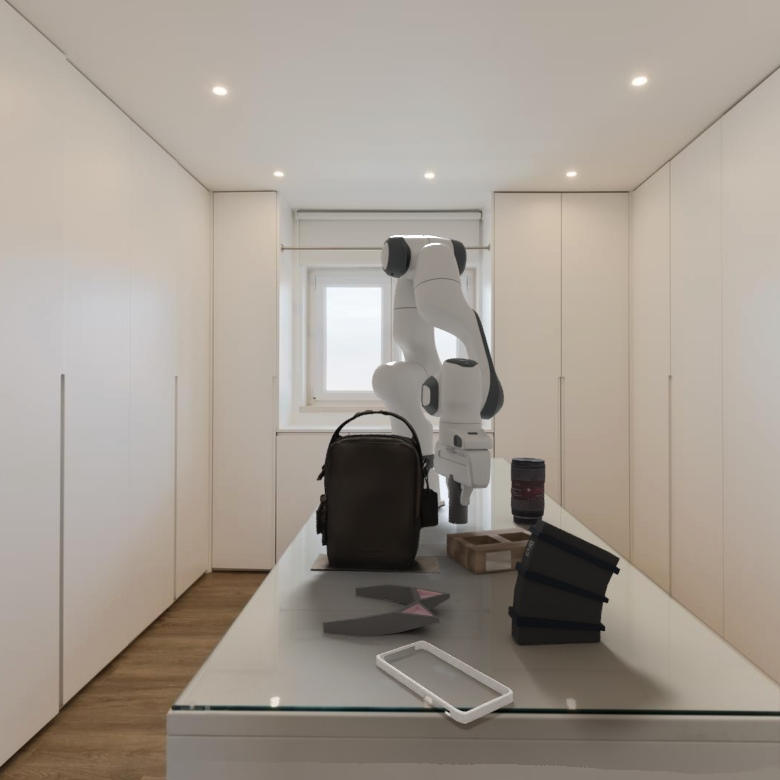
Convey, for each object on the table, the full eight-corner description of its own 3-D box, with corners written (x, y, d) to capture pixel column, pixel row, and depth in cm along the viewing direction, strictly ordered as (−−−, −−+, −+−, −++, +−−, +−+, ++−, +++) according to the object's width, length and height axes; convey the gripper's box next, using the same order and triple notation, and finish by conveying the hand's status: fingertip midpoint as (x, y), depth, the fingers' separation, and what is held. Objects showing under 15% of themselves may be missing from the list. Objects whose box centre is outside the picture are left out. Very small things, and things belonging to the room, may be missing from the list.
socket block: (446, 555, 109) (446, 534, 109) (519, 547, 114) (519, 527, 114) (476, 575, 97) (477, 551, 97) (556, 565, 102) (556, 543, 102)
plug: (445, 520, 120) (446, 472, 120) (462, 518, 122) (463, 472, 121) (453, 524, 117) (454, 476, 116) (470, 523, 118) (472, 475, 118)
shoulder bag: (438, 557, 107) (438, 409, 107) (439, 573, 98) (439, 411, 98) (319, 555, 109) (319, 408, 109) (310, 570, 100) (310, 410, 99)
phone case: (515, 704, 58) (423, 650, 70) (515, 691, 58) (423, 639, 70) (462, 729, 54) (373, 667, 66) (462, 715, 54) (373, 655, 66)
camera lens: (546, 526, 132) (546, 461, 132) (510, 524, 133) (510, 460, 133) (544, 518, 140) (544, 457, 139) (510, 516, 141) (510, 456, 141)
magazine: (485, 621, 73) (534, 516, 74) (574, 662, 74) (622, 557, 75) (493, 634, 70) (544, 523, 70) (586, 676, 71) (636, 566, 71)
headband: (355, 583, 88) (451, 582, 84) (357, 604, 87) (453, 603, 84) (321, 618, 74) (434, 618, 70) (324, 642, 74) (437, 643, 70)
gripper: (427, 431, 128) (426, 492, 128) (467, 441, 108) (465, 514, 108) (453, 431, 130) (451, 491, 130) (497, 441, 110) (495, 512, 110)
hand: (458, 502), depth 119 cm, fingers closed on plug, 4 cm apart
